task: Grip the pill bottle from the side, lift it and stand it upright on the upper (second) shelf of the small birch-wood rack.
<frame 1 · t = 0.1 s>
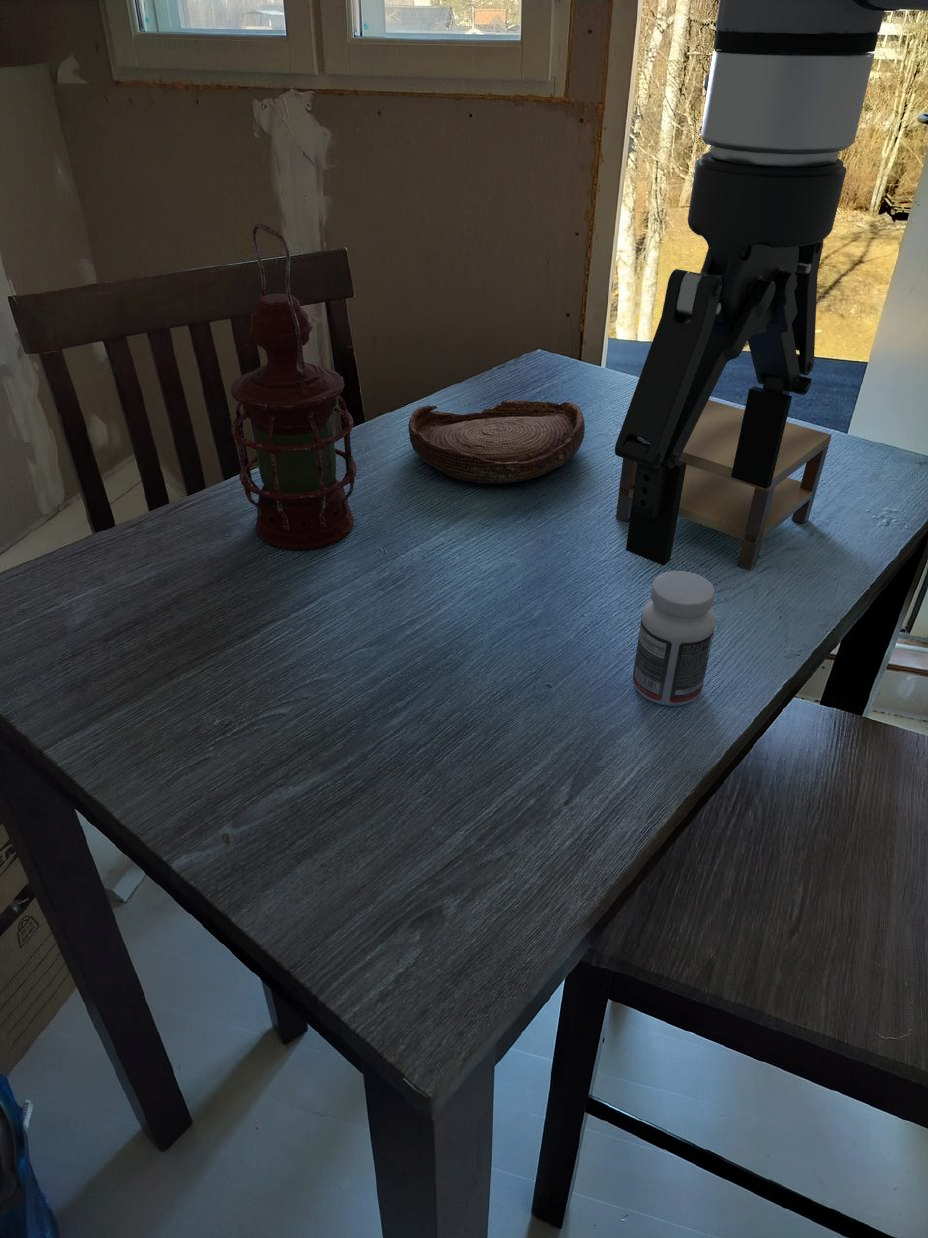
hand: (702, 516, 56), 19 cm above the table, tool pointing down, fingers open, 13 cm apart
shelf: (711, 518, 94), on the table
pill bottle: (665, 687, 71), on the table
lantern: (305, 527, 92), on the table
basket: (499, 454, 107), on the table
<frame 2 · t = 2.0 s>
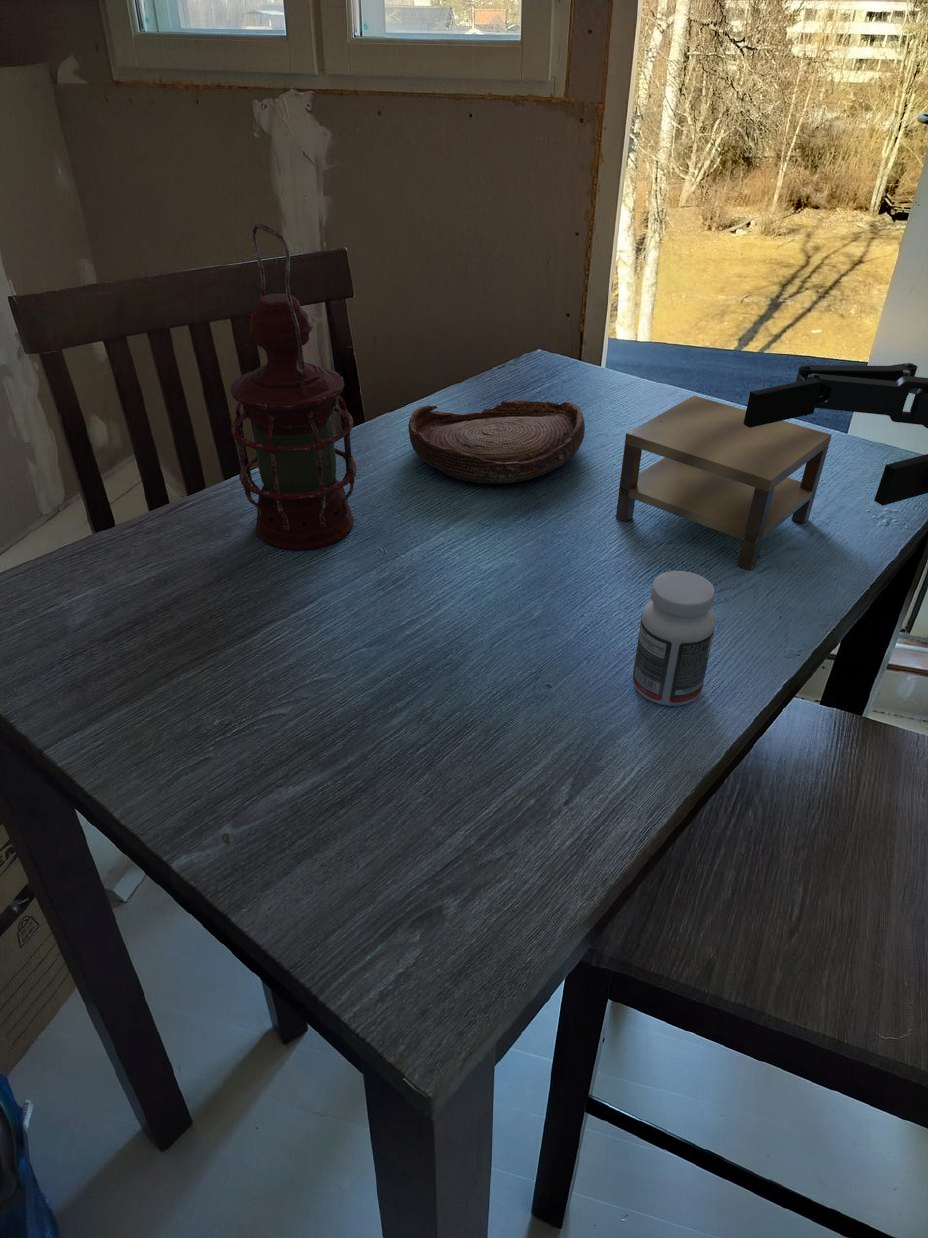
hand: (811, 444, 62), 20 cm above the table, tool horizontal, fingers open, 13 cm apart
nothing on the table moved.
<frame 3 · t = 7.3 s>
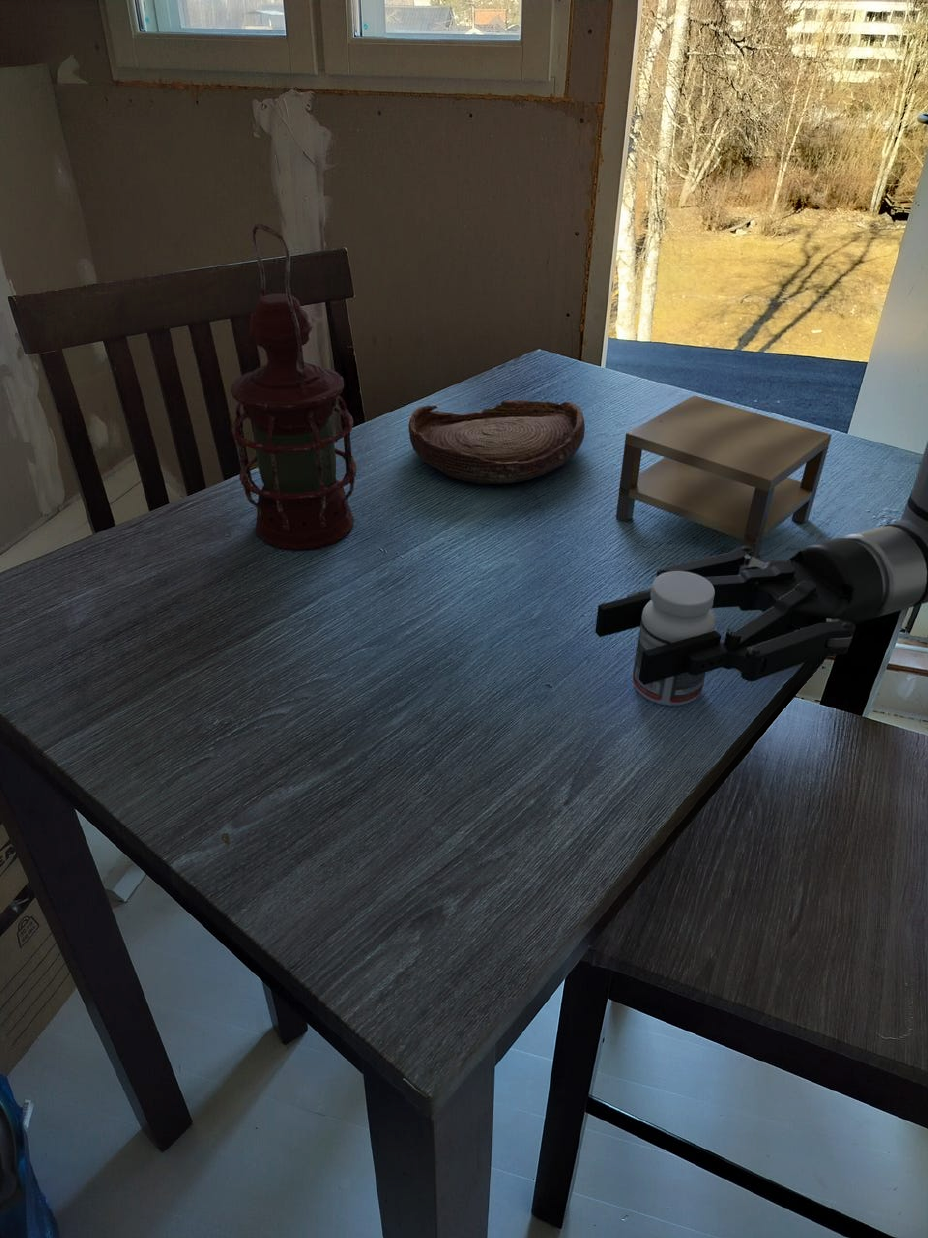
hand: (620, 643, 66), 6 cm above the table, tool horizontal, fingers closed on pill bottle, 6 cm apart
pill bottle: (665, 687, 71), on the table, touching gripper
everything else where it was.
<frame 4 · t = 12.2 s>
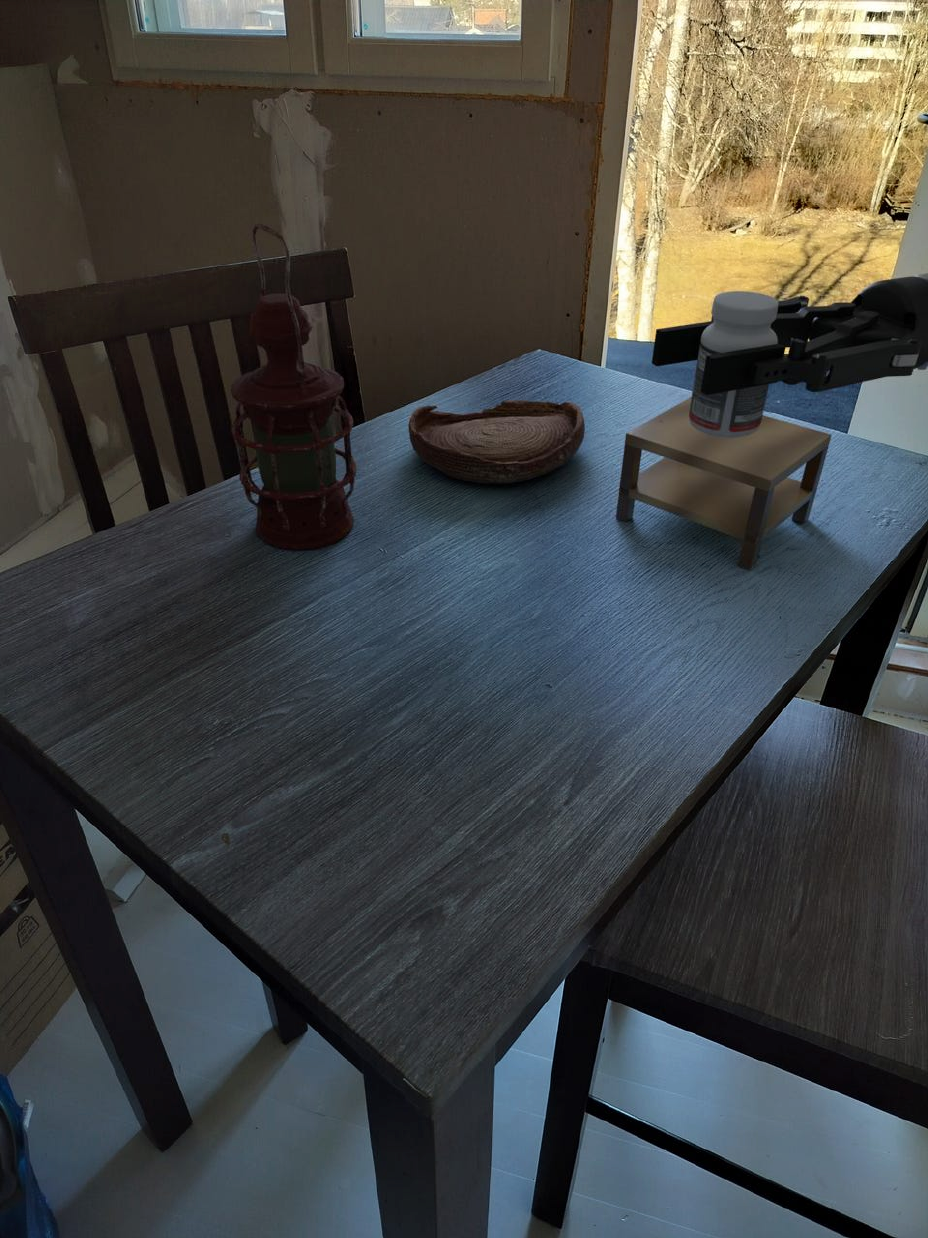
hand: (681, 361, 64), 24 cm above the table, tool horizontal, fingers closed on pill bottle, 6 cm apart
pill bottle: (722, 427, 69), point 18 cm above the table, touching gripper
everything else where it was.
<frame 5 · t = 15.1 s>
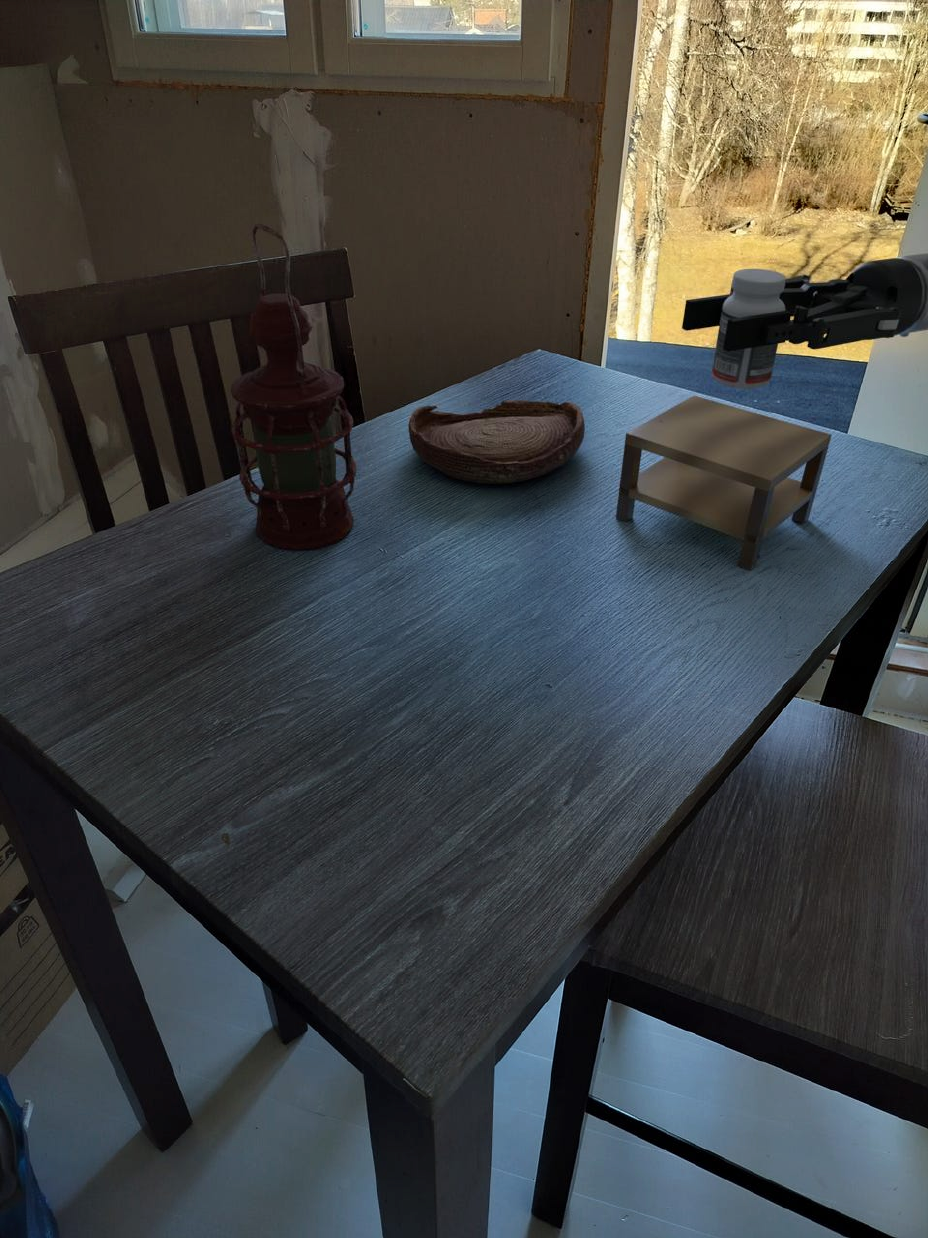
hand: (706, 325, 79), 22 cm above the table, tool horizontal, fingers closed on pill bottle, 6 cm apart
pill bottle: (739, 381, 84), point 16 cm above the table, touching gripper
everything else where it was.
when the fingers open (16 cm above the table, at t = 17.0 s): pill bottle stays where it is, resting on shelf.
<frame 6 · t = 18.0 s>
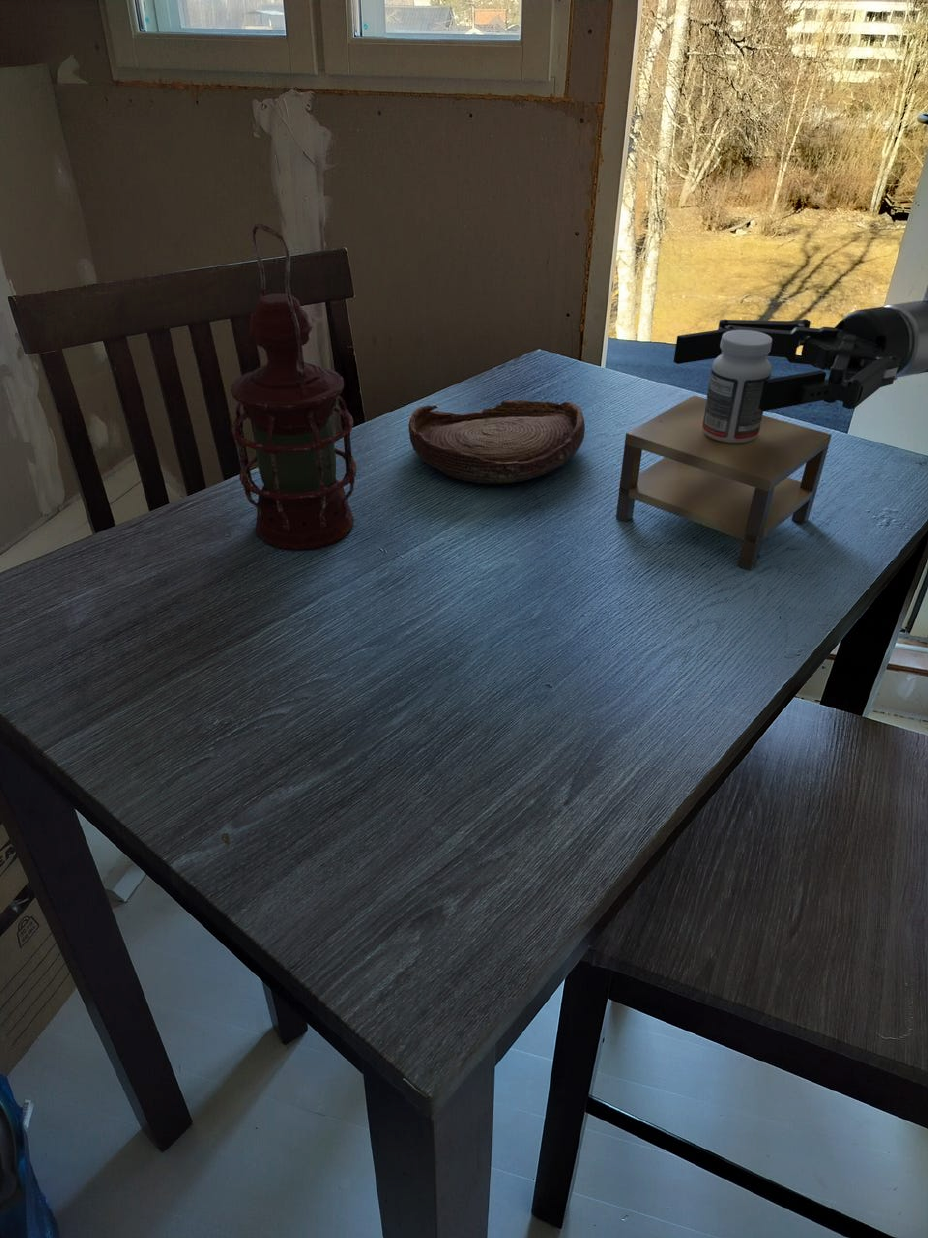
hand: (717, 371, 83), 17 cm above the table, tool horizontal, fingers open, 13 cm apart
pill bottle: (728, 435, 88), point 10 cm above the table, touching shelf
everything else where it was.
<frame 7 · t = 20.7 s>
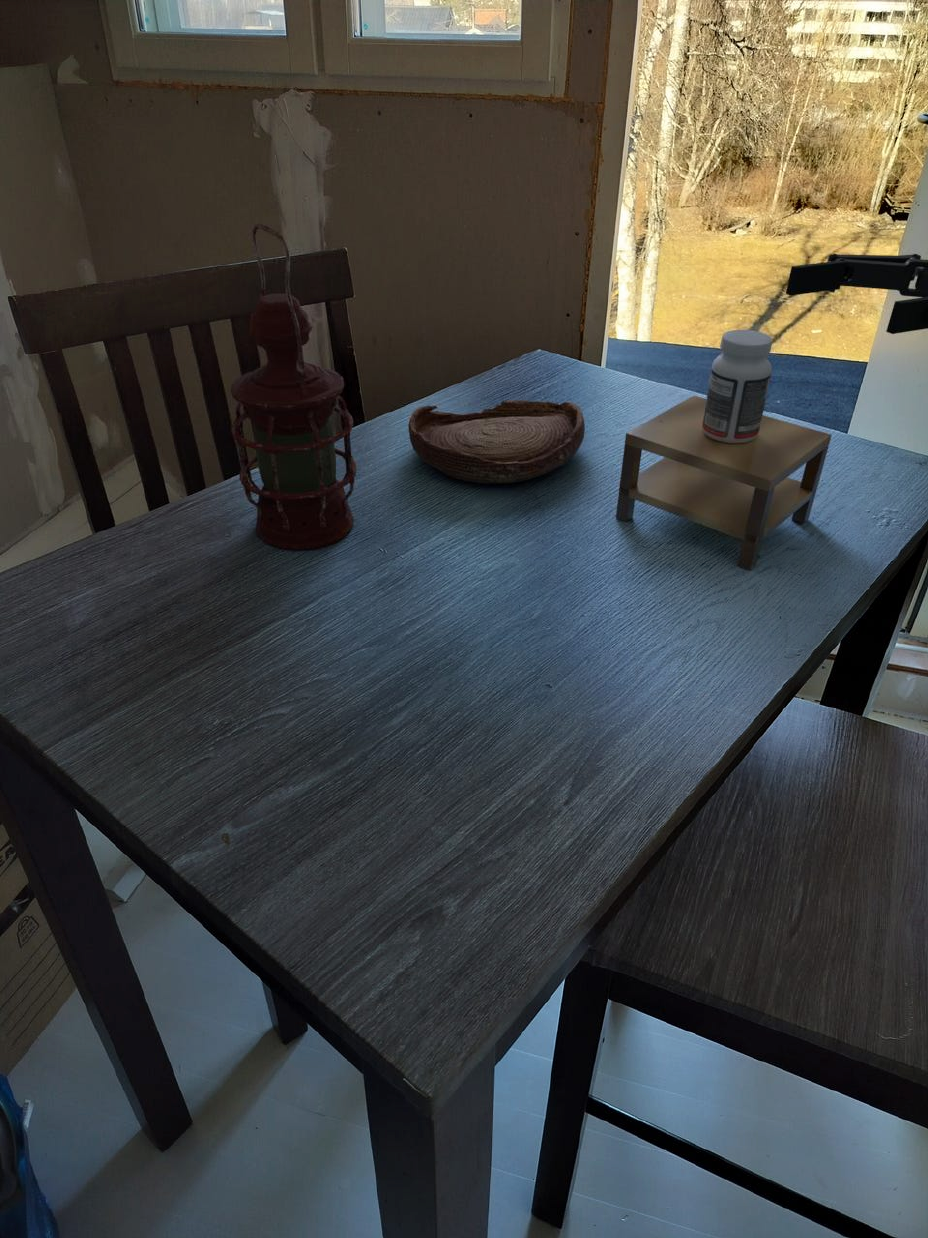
hand: (838, 298, 82), 23 cm above the table, tool horizontal, fingers open, 13 cm apart
nothing on the table moved.
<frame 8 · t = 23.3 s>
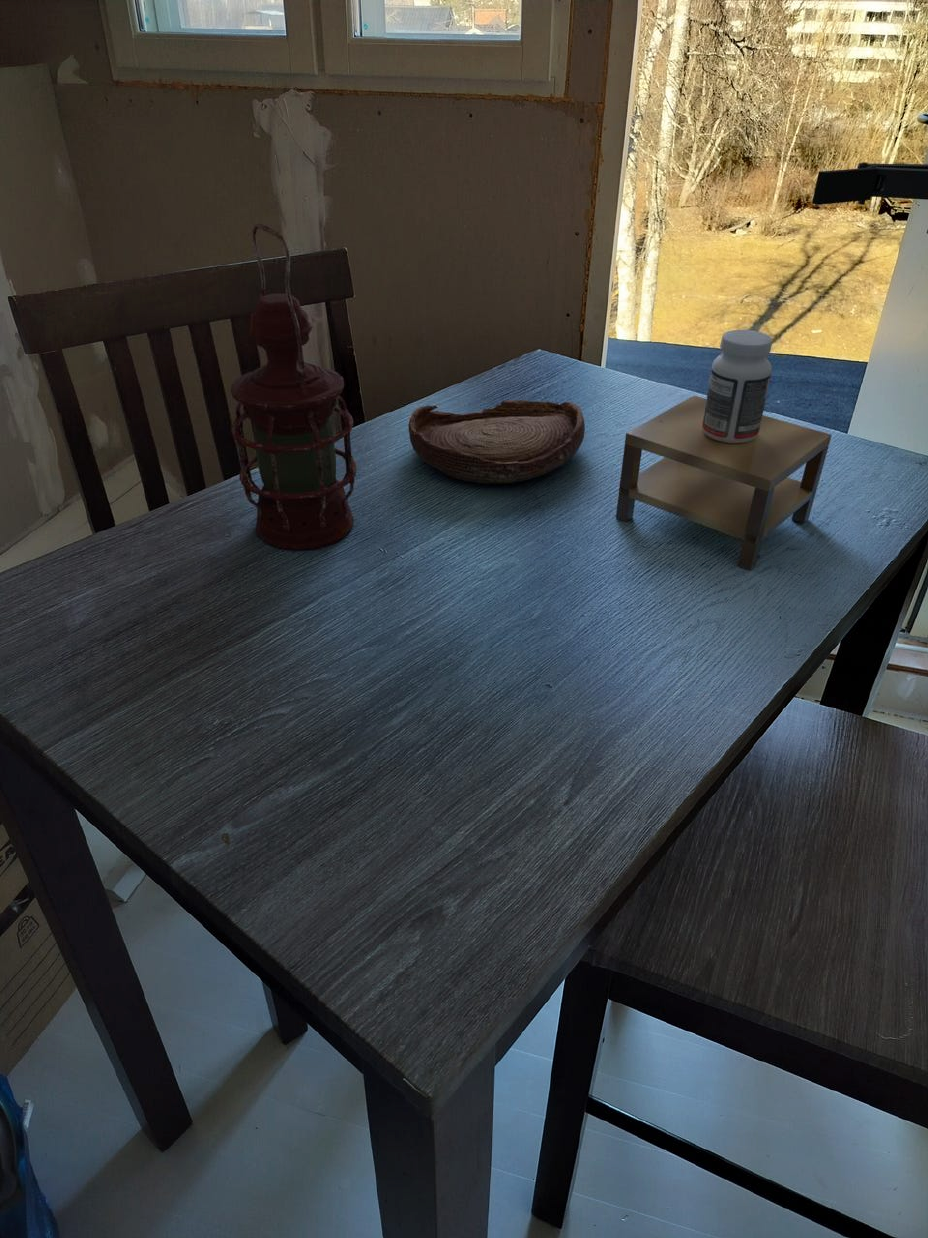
hand: (872, 201, 74), 32 cm above the table, tool horizontal, fingers open, 13 cm apart
nothing on the table moved.
at the end: pill bottle inside the target area on the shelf (0.1 cm from its centre), point 9.8 cm above the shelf's base; pill bottle tilted 0°; the gripper is holding nothing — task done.
